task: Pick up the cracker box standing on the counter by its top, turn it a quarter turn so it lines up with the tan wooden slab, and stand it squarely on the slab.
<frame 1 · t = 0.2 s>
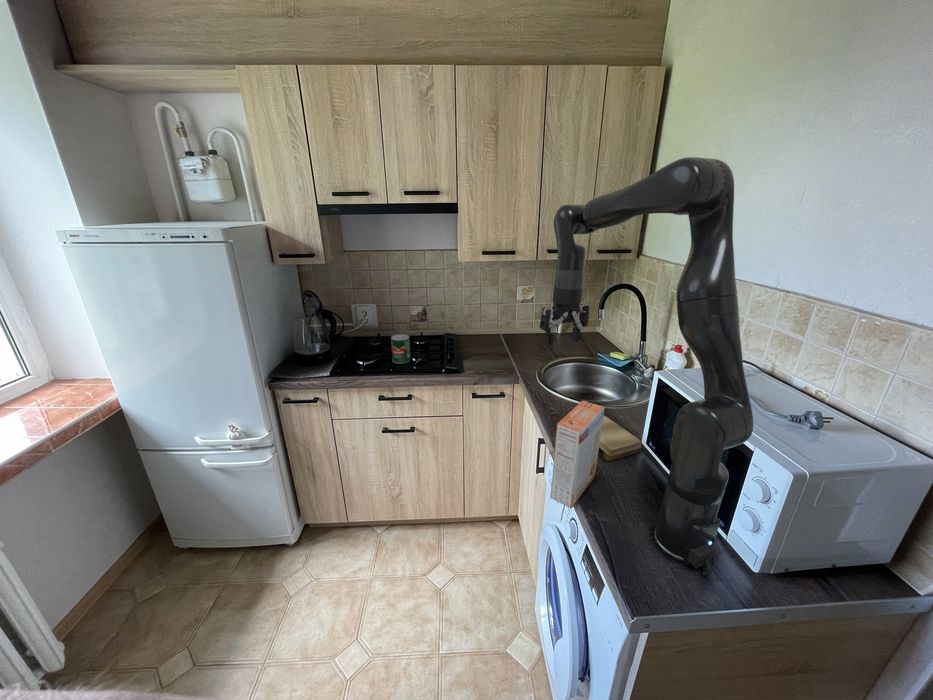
hand: (562, 342, 107), 29 cm above the worktop, tool pointing down, fingers open, 8 cm apart
canned tomato: (401, 360, 169), on the worktop
cracker box: (572, 488, 94), on the worktop
tan wooden slab: (603, 441, 113), on the worktop
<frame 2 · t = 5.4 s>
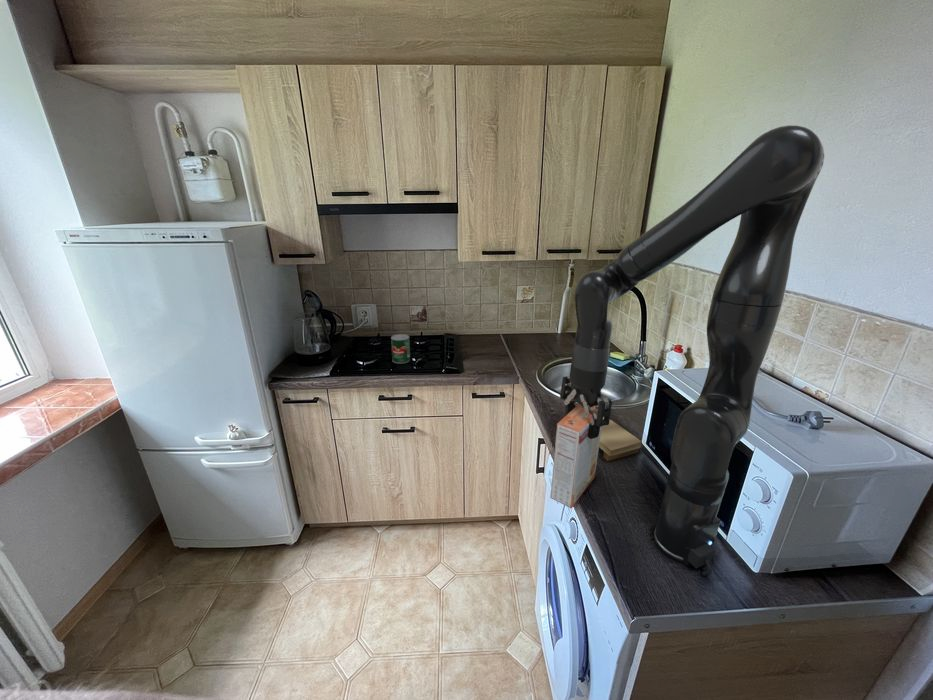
hand: (580, 427, 88), 17 cm above the worktop, tool pointing down, fingers closed on cracker box, 8 cm apart
cracker box: (572, 488, 94), on the worktop, touching gripper
everything else where it was.
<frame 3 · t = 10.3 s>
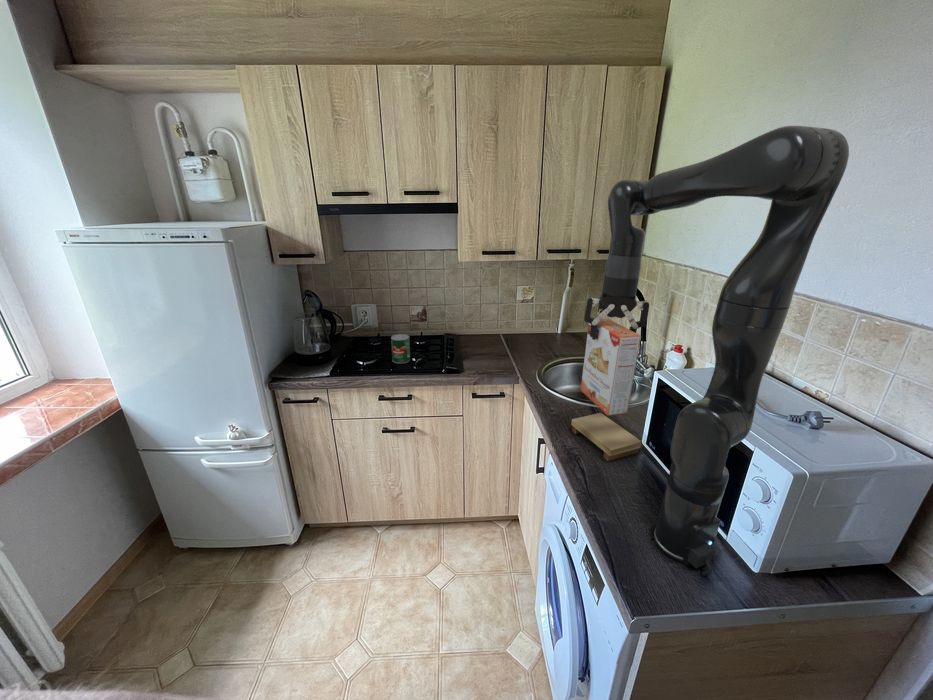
hand: (611, 340, 94), 34 cm above the worktop, tool pointing down, fingers closed on cracker box, 8 cm apart
cracker box: (601, 402, 100), point 17 cm above the worktop, touching gripper
everything else where it was.
when the fingers open (21 cm above the worktop, at t = 15.4 s): cracker box stays where it is, resting on tan wooden slab.
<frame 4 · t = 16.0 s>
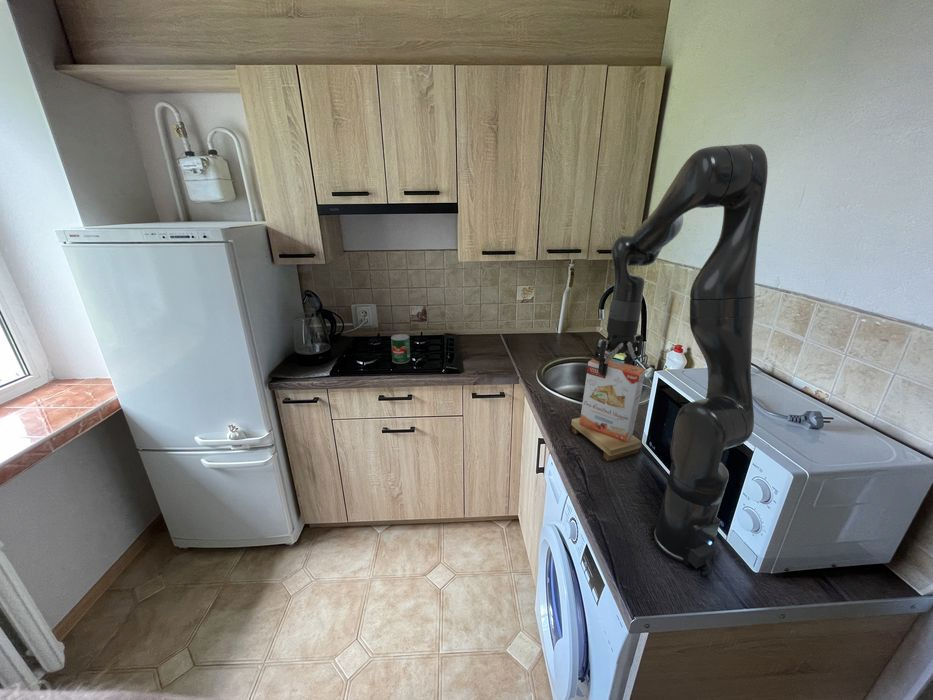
hand: (614, 372, 105), 22 cm above the worktop, tool pointing down, fingers open, 8 cm apart
cracker box: (605, 430, 111), point 4 cm above the worktop, touching gripper, tan wooden slab
everything else where it was.
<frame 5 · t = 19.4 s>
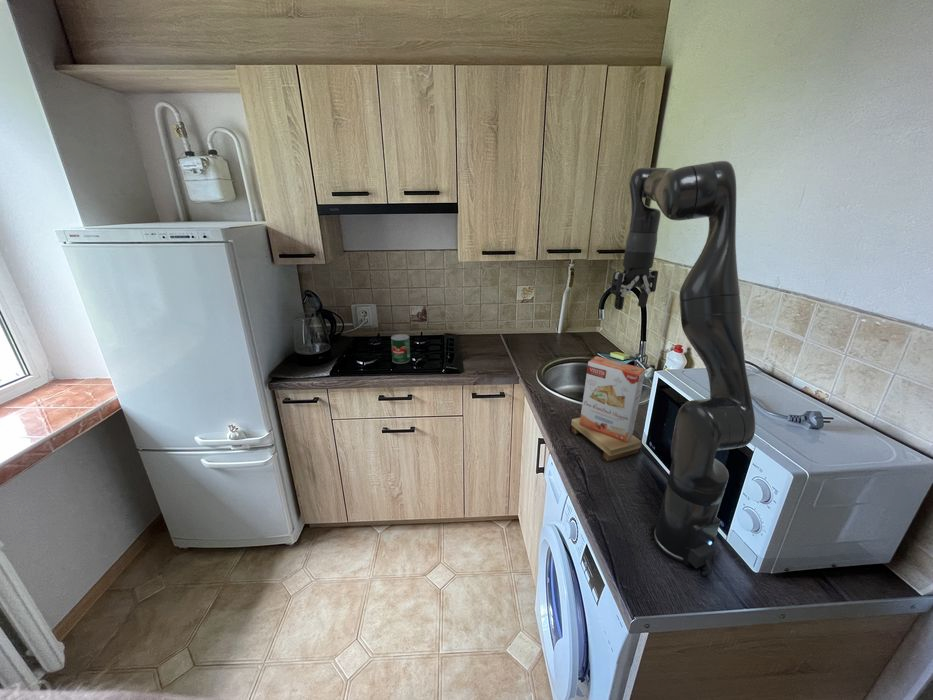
hand: (630, 308, 108), 38 cm above the worktop, tool pointing down, fingers open, 8 cm apart
cracker box: (605, 430, 111), point 4 cm above the worktop, touching tan wooden slab
everything else where it was.
at the end: cracker box 0.1 cm off-centre on the tan wooden slab, point 3.8 cm above the tan wooden slab's base; cracker box tilted 0°; the gripper is holding nothing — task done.
